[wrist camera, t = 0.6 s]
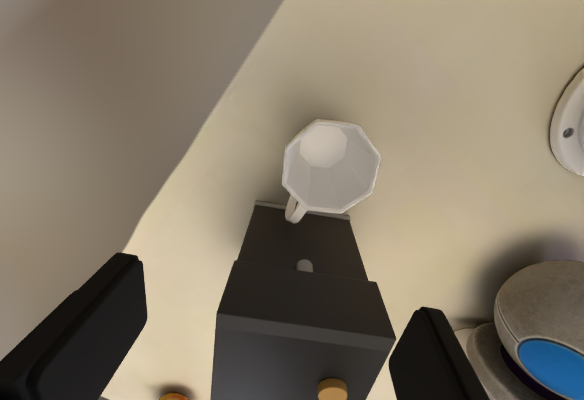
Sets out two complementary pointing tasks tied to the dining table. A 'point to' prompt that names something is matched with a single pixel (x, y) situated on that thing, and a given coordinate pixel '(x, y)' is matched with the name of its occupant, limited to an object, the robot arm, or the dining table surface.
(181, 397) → the fruit
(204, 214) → the dining table surface
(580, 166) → the robot arm
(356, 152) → the cup
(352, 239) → the black box with button
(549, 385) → the webcam
